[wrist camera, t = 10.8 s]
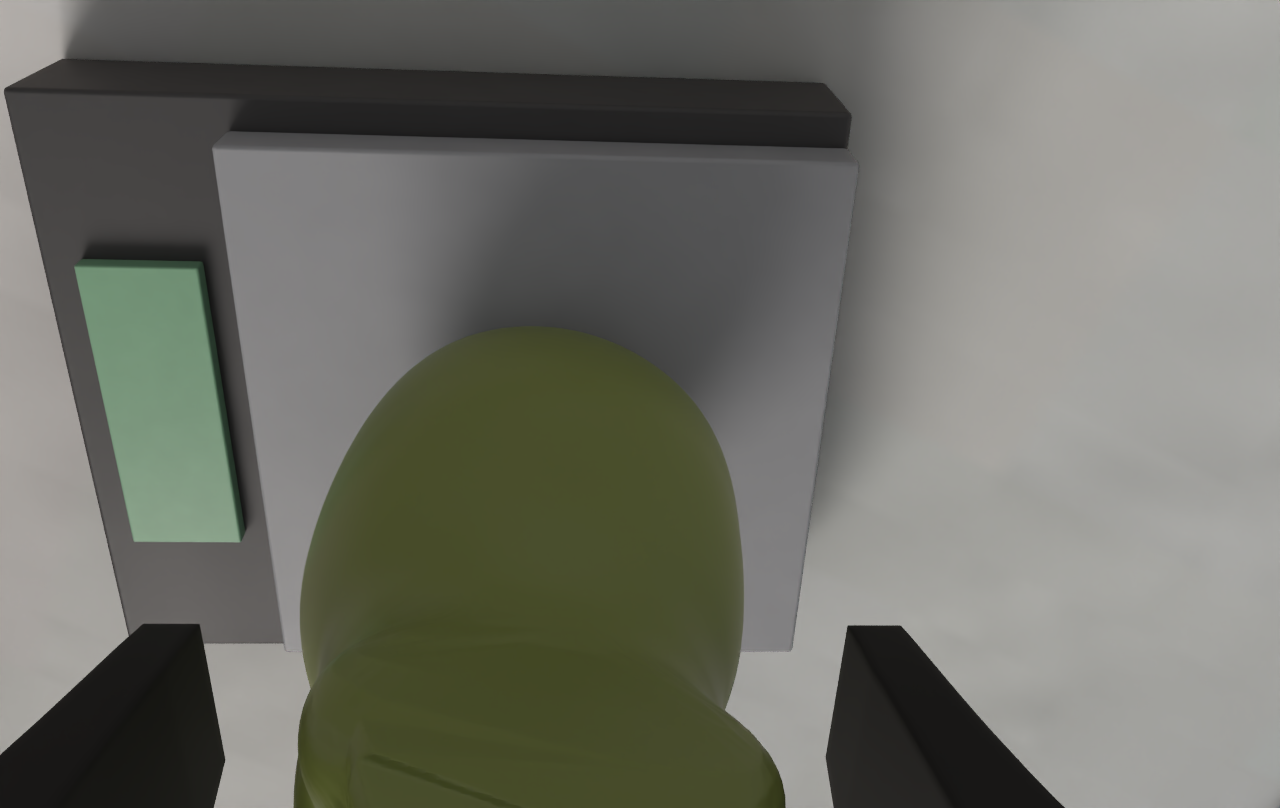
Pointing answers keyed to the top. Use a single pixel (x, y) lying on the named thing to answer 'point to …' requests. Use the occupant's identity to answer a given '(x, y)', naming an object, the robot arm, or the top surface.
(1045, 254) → the top surface
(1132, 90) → the top surface
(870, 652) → the robot arm
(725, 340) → the scale
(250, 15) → the top surface
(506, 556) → the pear
